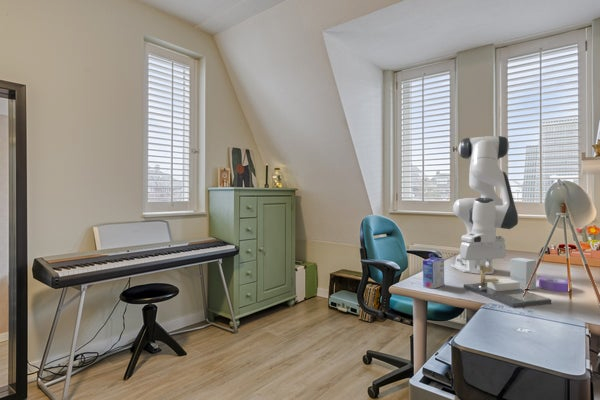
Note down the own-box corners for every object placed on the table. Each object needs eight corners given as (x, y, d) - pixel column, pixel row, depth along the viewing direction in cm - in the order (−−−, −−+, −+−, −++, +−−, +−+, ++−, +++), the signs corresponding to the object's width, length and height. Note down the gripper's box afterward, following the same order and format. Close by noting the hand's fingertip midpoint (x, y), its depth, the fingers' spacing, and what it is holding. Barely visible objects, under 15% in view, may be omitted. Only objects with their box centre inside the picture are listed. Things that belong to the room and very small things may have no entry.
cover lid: (487, 287, 149) (487, 280, 149) (508, 285, 151) (508, 278, 151) (498, 291, 143) (498, 283, 143) (519, 289, 146) (520, 282, 146)
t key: (474, 283, 148) (475, 263, 147) (490, 282, 150) (490, 262, 149) (487, 288, 141) (487, 267, 141) (503, 286, 143) (503, 266, 143)
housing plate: (463, 287, 153) (463, 281, 153) (498, 284, 157) (498, 278, 157) (512, 307, 128) (512, 299, 128) (552, 303, 132) (552, 295, 132)
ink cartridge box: (433, 282, 161) (433, 252, 161) (444, 285, 157) (445, 253, 157) (422, 286, 155) (422, 254, 155) (433, 289, 151) (433, 256, 150)
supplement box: (536, 288, 152) (537, 260, 151) (526, 290, 148) (526, 261, 148) (519, 284, 158) (520, 257, 158) (509, 286, 155) (509, 258, 155)
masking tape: (535, 288, 153) (536, 279, 153) (541, 283, 161) (541, 275, 161) (568, 294, 144) (569, 285, 144) (573, 288, 153) (573, 280, 152)
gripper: (498, 234, 149) (497, 266, 150) (457, 236, 145) (457, 269, 145) (510, 237, 143) (509, 269, 144) (468, 238, 138) (467, 272, 139)
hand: (483, 269), depth 144 cm, fingers closed on t key, 2 cm apart
